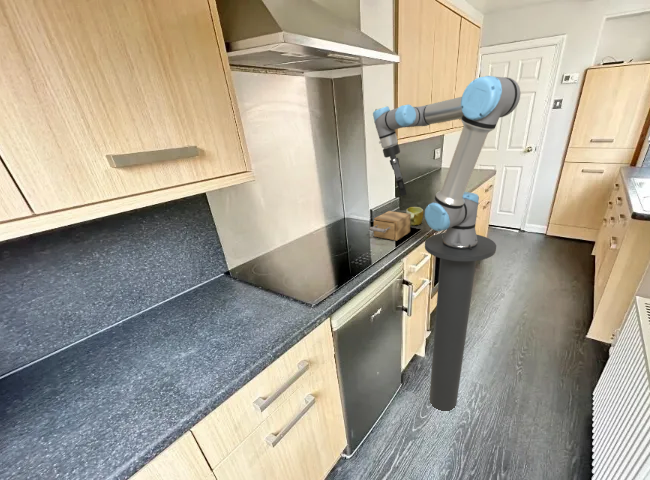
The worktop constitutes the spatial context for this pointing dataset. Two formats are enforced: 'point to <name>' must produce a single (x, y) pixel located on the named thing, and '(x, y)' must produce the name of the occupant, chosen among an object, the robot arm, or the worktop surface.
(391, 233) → the drawer
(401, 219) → the cabinet
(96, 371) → the worktop surface
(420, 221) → the mug
